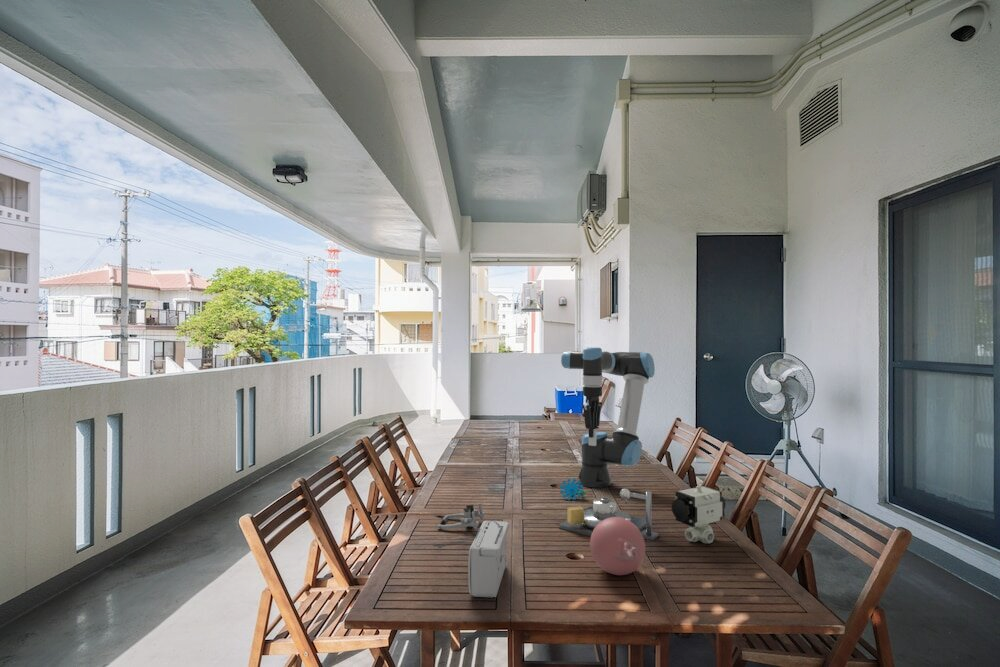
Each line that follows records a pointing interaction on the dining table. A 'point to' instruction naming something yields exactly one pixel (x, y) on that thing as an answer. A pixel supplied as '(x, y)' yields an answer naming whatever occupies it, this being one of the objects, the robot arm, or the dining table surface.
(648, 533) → the dial gauge
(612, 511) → the cover
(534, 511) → the dining table surface
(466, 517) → the bike brake
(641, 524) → the turntable base
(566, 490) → the blue virus model
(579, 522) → the turntable
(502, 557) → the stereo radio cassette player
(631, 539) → the balloon
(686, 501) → the ball valve
